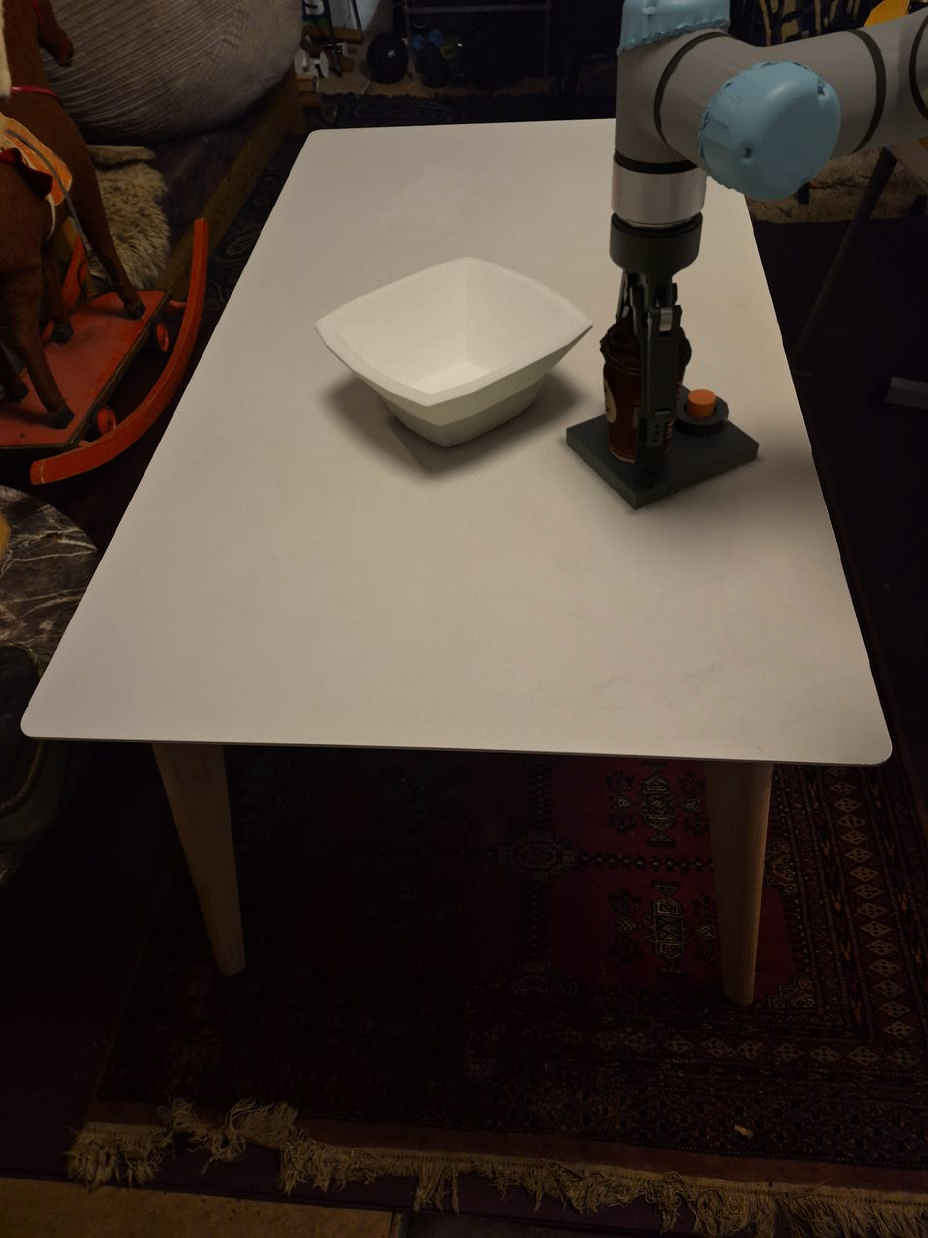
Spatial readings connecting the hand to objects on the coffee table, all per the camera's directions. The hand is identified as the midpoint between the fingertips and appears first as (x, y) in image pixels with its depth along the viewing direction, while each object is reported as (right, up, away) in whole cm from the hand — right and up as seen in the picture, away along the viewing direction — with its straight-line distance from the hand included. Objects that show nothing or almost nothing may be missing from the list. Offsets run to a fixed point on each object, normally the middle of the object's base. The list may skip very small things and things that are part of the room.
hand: (638, 430), depth 87 cm
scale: (+3, -1, +4) cm, 5 cm away
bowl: (-18, +6, +12) cm, 23 cm away
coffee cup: (0, -1, +2) cm, 2 cm away
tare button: (+7, +3, +2) cm, 8 cm away
